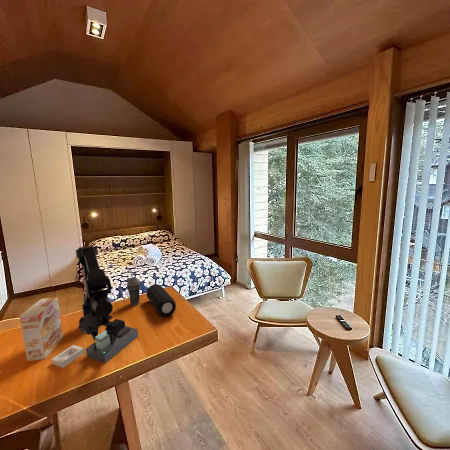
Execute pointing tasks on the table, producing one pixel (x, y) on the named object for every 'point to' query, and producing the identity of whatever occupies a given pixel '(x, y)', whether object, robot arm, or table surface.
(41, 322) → the coffeecake box
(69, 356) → the light grey tray
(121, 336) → the panel
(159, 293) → the portable speaker
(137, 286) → the beverage cup
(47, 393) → the table surface
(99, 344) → the plug
